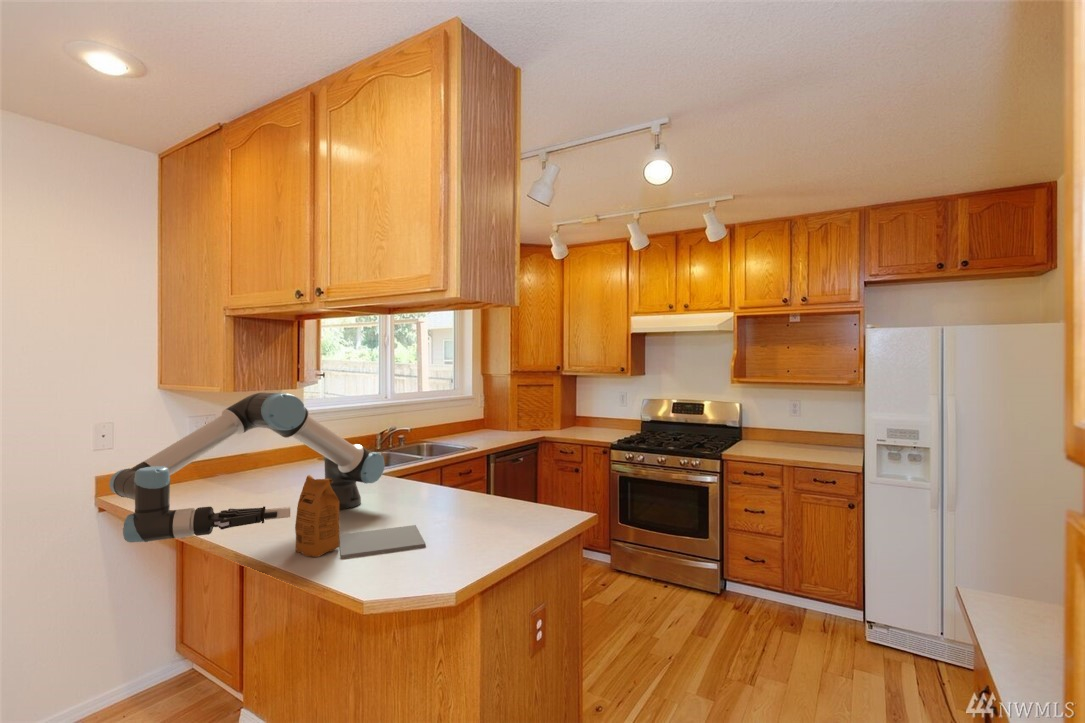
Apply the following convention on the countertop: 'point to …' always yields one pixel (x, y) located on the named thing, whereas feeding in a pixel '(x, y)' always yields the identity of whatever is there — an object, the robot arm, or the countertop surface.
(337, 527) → the coffee package
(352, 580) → the countertop surface
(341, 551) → the topple mat
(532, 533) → the countertop surface
